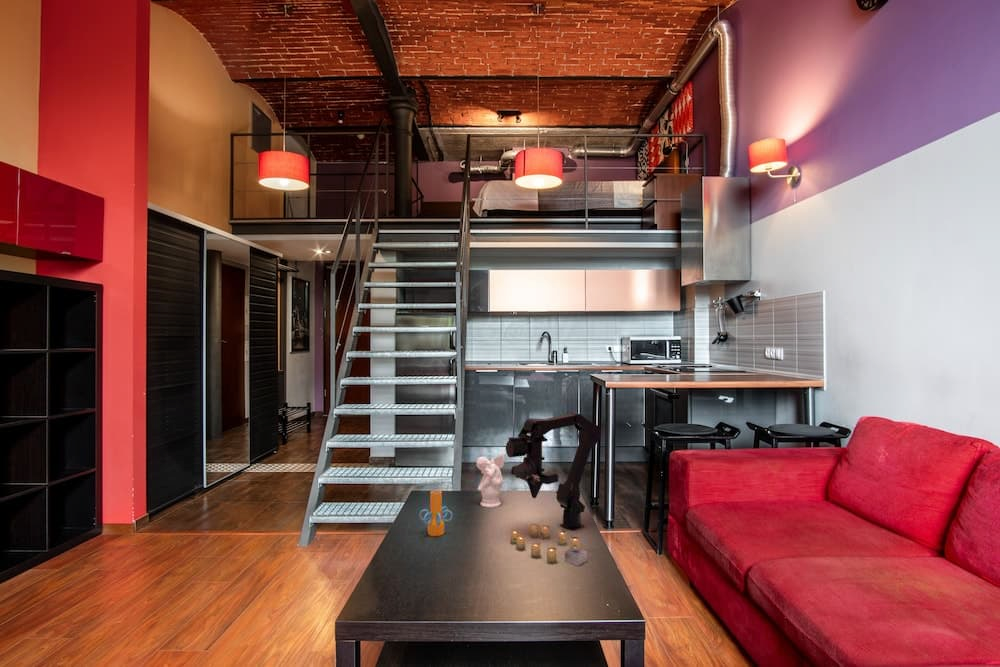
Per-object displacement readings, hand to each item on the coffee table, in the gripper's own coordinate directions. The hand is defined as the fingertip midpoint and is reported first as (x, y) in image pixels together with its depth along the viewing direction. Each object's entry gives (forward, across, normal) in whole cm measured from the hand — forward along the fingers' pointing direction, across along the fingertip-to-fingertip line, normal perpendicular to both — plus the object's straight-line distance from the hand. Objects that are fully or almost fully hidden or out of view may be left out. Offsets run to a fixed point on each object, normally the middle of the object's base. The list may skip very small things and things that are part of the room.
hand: (534, 497), depth 182 cm
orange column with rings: (+13, -24, -26) cm, 38 cm away
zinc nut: (+13, +24, -6) cm, 28 cm away
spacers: (+13, +11, -6) cm, 18 cm away
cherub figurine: (+13, -36, +11) cm, 40 cm away
